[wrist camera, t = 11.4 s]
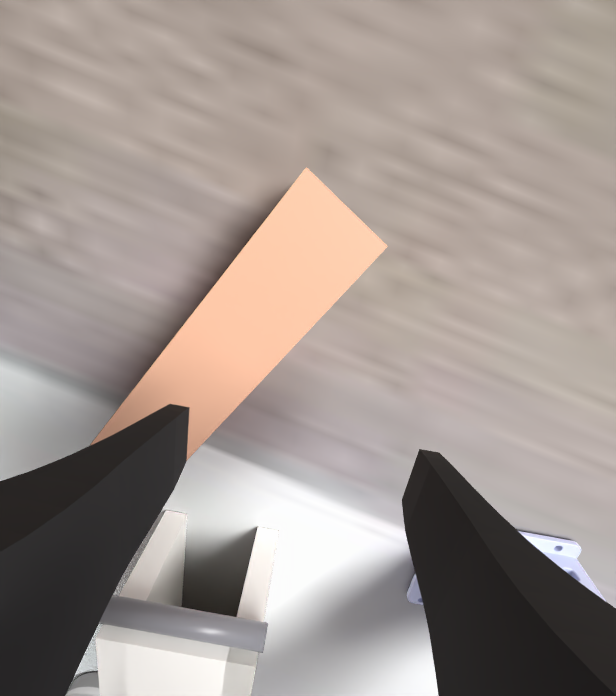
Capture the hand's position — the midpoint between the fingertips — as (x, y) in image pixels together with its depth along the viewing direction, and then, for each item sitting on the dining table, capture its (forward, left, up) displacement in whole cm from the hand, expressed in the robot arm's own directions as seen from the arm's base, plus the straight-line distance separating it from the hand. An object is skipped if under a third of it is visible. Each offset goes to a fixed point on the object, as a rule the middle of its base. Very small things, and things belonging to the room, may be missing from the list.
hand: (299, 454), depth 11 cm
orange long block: (+4, -1, -10) cm, 11 cm away
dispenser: (+4, +20, -9) cm, 22 cm away
